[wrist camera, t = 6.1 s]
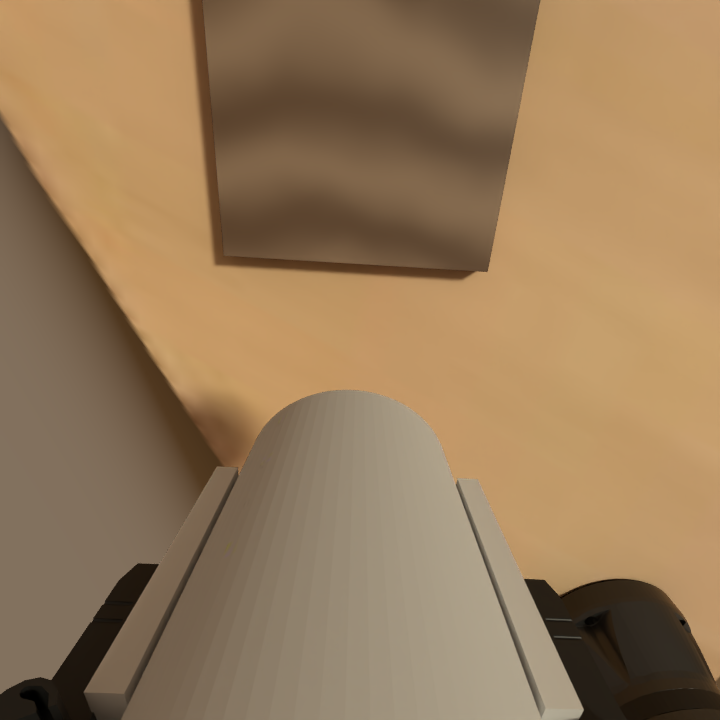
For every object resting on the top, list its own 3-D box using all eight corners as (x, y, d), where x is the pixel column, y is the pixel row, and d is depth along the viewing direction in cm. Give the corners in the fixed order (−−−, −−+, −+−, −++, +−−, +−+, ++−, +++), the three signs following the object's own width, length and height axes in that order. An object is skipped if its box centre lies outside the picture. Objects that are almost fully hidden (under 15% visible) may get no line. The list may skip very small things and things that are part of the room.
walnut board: (480, 269, 25) (487, 271, 24) (231, 253, 25) (223, 255, 23) (535, -27, 19) (549, -46, 18) (207, -54, 19) (195, -76, 17)
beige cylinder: (222, 510, 15) (-181, 1347, 4) (296, 354, 12) (-316, 1598, 1) (387, 571, 16) (444, 1319, 5) (485, 441, 14) (1040, 1408, 3)
